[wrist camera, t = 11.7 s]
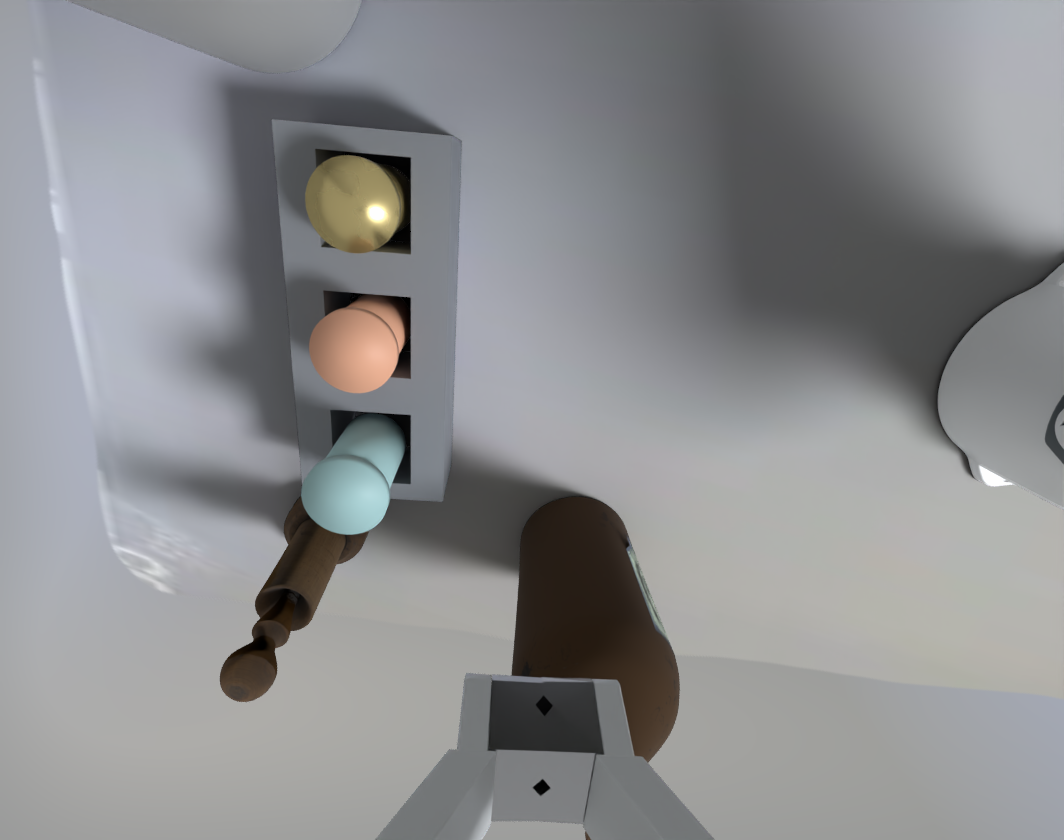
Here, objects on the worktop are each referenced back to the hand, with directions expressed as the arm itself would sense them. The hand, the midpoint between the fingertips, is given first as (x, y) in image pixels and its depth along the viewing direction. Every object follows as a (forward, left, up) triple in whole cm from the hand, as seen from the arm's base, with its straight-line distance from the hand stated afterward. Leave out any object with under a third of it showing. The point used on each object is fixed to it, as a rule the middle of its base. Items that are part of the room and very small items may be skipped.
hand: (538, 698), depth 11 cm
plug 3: (+10, +9, -29) cm, 32 cm away
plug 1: (+10, -7, -33) cm, 35 cm away
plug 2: (+10, +1, -32) cm, 34 cm away
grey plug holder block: (+10, +1, -34) cm, 36 cm away
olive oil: (-6, +20, -34) cm, 40 cm away
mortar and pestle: (+15, +19, -34) cm, 42 cm away
